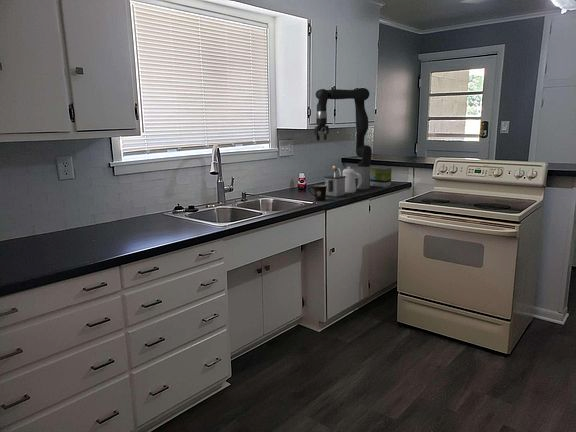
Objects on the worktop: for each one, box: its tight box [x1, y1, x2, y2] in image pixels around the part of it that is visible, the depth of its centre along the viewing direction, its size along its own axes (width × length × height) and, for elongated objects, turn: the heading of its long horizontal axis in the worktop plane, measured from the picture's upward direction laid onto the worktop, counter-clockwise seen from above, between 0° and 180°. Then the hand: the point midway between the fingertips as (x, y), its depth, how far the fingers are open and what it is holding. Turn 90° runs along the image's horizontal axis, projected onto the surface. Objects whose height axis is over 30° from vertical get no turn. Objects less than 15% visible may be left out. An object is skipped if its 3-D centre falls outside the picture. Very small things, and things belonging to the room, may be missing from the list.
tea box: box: [370, 166, 393, 188], centre depth 351 cm, size 15×10×15 cm, turn 49°
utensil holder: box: [323, 174, 346, 199], centre depth 307 cm, size 12×11×14 cm
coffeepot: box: [337, 166, 362, 194], centre depth 324 cm, size 11×25×19 cm, turn 42°
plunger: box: [332, 165, 339, 177], centre depth 306 cm, size 8×8×20 cm
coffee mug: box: [308, 184, 327, 202], centre depth 294 cm, size 12×9×10 cm
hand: (321, 140), depth 322 cm, fingers open, 8 cm apart
